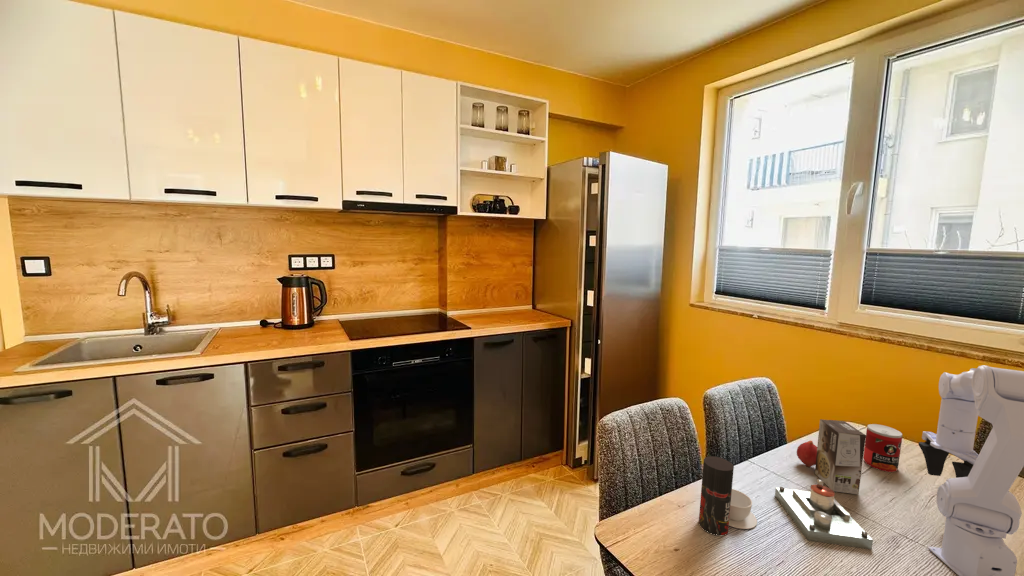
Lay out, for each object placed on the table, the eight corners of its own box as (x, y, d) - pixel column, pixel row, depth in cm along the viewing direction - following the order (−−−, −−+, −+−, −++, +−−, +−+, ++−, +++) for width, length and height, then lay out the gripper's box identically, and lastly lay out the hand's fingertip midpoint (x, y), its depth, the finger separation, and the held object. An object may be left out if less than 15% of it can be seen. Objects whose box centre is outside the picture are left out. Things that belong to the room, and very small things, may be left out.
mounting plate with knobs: (871, 549, 85) (874, 530, 84) (808, 540, 87) (810, 521, 86) (827, 502, 100) (829, 486, 100) (774, 495, 103) (776, 480, 102)
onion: (791, 463, 119) (793, 437, 118) (802, 459, 121) (805, 434, 120) (812, 473, 113) (815, 446, 112) (824, 469, 116) (827, 442, 115)
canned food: (871, 469, 116) (876, 433, 115) (857, 456, 124) (861, 422, 123) (904, 474, 114) (909, 437, 113) (887, 460, 122) (892, 425, 120)
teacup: (733, 534, 88) (735, 514, 88) (699, 506, 98) (700, 488, 97) (767, 525, 91) (769, 506, 91) (731, 499, 101) (732, 481, 100)
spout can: (836, 522, 93) (840, 489, 92) (815, 520, 93) (819, 487, 93) (824, 510, 97) (827, 479, 97) (804, 508, 98) (807, 477, 97)
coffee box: (860, 495, 104) (867, 435, 102) (831, 491, 105) (838, 432, 103) (839, 475, 113) (845, 420, 111) (813, 472, 114) (819, 418, 112)
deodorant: (724, 540, 86) (730, 474, 85) (695, 527, 90) (700, 463, 88) (730, 525, 91) (736, 463, 89) (702, 514, 95) (707, 453, 93)
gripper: (910, 412, 99) (903, 465, 100) (964, 440, 84) (955, 500, 86) (944, 415, 97) (937, 468, 99) (1005, 444, 83) (995, 505, 85)
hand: (948, 484), depth 92 cm, fingers open, 7 cm apart
